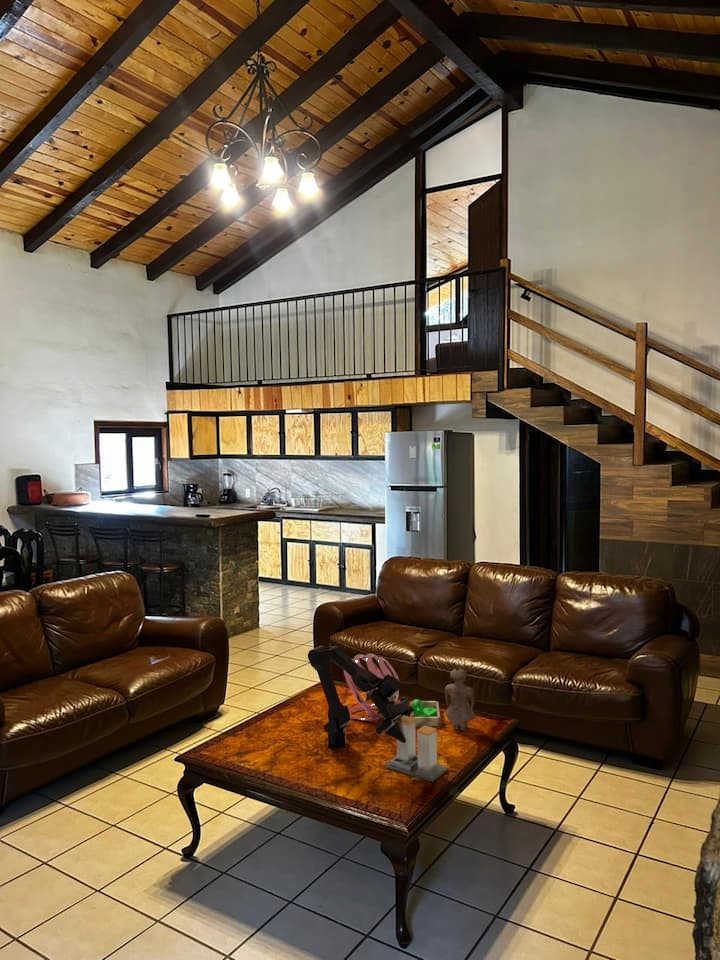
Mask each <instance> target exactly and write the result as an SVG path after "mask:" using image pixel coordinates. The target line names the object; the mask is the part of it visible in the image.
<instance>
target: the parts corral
mask: <svg viewBox="0 0 720 960" xmlns="http://www.w3.org/2000/svg"><path fill="white" fill-rule="evenodd" d="M413 701H414V700H411V701H410V706H411V705H412V702H413ZM421 701H422V703H423V709H424V708H426V707H432V708H435V709H436V710H437V714H436V716H434V717H414V711H413V712H412V713H411V716H410V717H412V718H415V719H416V721H415V727H423V726H424V725H425V726H428V727H441V713H440V706H439V705H440V704H439V700H421Z"/></svg>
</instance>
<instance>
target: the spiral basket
mask: <svg viewBox="0 0 720 960" xmlns="http://www.w3.org/2000/svg"><path fill="white" fill-rule="evenodd" d="M373 658H374V659H375V661H376V662H377V663H378V665H379V668H378V666H377V664H375V663H374V661H373ZM351 659H352V660H353V661H354V662H355V663H356V664H357V665H359V666H360V667H361V668H363V669H366V668H365V667H364V666H363V665H362V664H361V662H360V659H362V660H363V661H365V663H366V666H367V670H369V671H370V672H372V673H374V674H375V675H376V676H377V677H380V678H382V679H383V678H384V677H385V676H386V675H388V674H390V676H393V677H395V678H396V679H398V680H399V676H398V673H397V672H396V670H395V669H394V667H393V666H392V665H391V663H390V662H389V661H388V660H387V659H385V658H384V657H382V656H377V655H376V654H374V653H368V654H366V655H365V654H359V653H358V654H357V655H355V656H354V657H353V658H351ZM388 667H389V668H388ZM392 673H393V674H392ZM343 674H344V677H345V681H346V682H347V685H348V687H349V690H350V691H351V693H352V695H353V697H354V698H355V699H356V701H357V702H358V704H359V705H360V706H351V705H350V706H349V705H347V706H348V710H349V709H350V710H354V711H365V712H366V713H367V714H368V715H369V716H371V717H367V718H362V717H358V716H356V715H354V714H353V713H351V712H350V711H349V713H350V714H351V715H350V718H353V719H355V720H357V721H361V722H362V721H363V722H370V721H375V720H378V719H381V718H383V716H382V715H381V714H379V715H378V713H377V712H376V711H374V710H373V709H377V708H376V706H375V705H374V703H371V704H369V705H368V703H367V701H366V700H364V698H363V697H362V695H361V694H360V691H358V687H357V686H356V684H355V682H354V679H353V678H352V677H351V676H350V675H349V674H348V673H347V672H346V671H345V670H344V669H343ZM399 681H400V680H399ZM376 689H378V688H376ZM372 691H373V690H370V691H368V692H366V694H367V693H369V692H372ZM399 693H400V692H399V690H398V691H397V692H396V693H394V694H393V695H392V696H391V697H390V698H389V699H390V701H392V700H393V701H395V702H396V701H397V700H398V698H399Z"/></svg>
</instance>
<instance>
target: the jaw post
mask: <svg viewBox="0 0 720 960" xmlns="http://www.w3.org/2000/svg"><path fill="white" fill-rule="evenodd" d="M415 721H416V719H415V718H412V717H411V716H410V717H408V716H405V715H403V716H402V717H400V718H399V719H397V720H396V722H395V724H396V723H397V724H398V729H399V731H400V732H401V734H402V736H403V737H404V739H405V741H406V742H405V743H402V742H400V741H399V740H397V739H396V756H397V759H398V760H401V761H404V762H407V763H409V762H410V761H411V760H413V759H414V758H415V757H416V754H417V753H416V726H415Z"/></svg>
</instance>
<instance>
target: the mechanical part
mask: <svg viewBox="0 0 720 960" xmlns="http://www.w3.org/2000/svg"><path fill="white" fill-rule="evenodd" d="M412 701H413V702H412V705H411V704H410V706H411V707H412V708H413V709H414V717H436V716H437V710H436V709H435V708H432V707H426V708H424V709H423V703H422V701H423V700H420V699H417V698H416V699H414V700H412Z"/></svg>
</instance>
